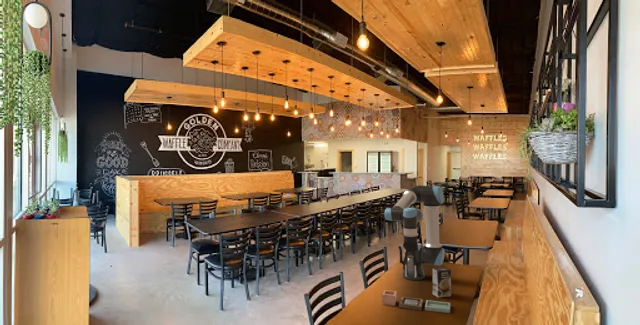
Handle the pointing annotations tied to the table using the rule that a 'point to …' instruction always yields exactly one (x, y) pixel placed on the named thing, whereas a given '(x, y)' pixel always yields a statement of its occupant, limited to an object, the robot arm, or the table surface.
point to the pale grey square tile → (411, 302)
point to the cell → (410, 267)
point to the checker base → (414, 307)
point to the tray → (437, 306)
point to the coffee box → (441, 282)
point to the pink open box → (389, 297)
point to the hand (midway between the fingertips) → (410, 276)
